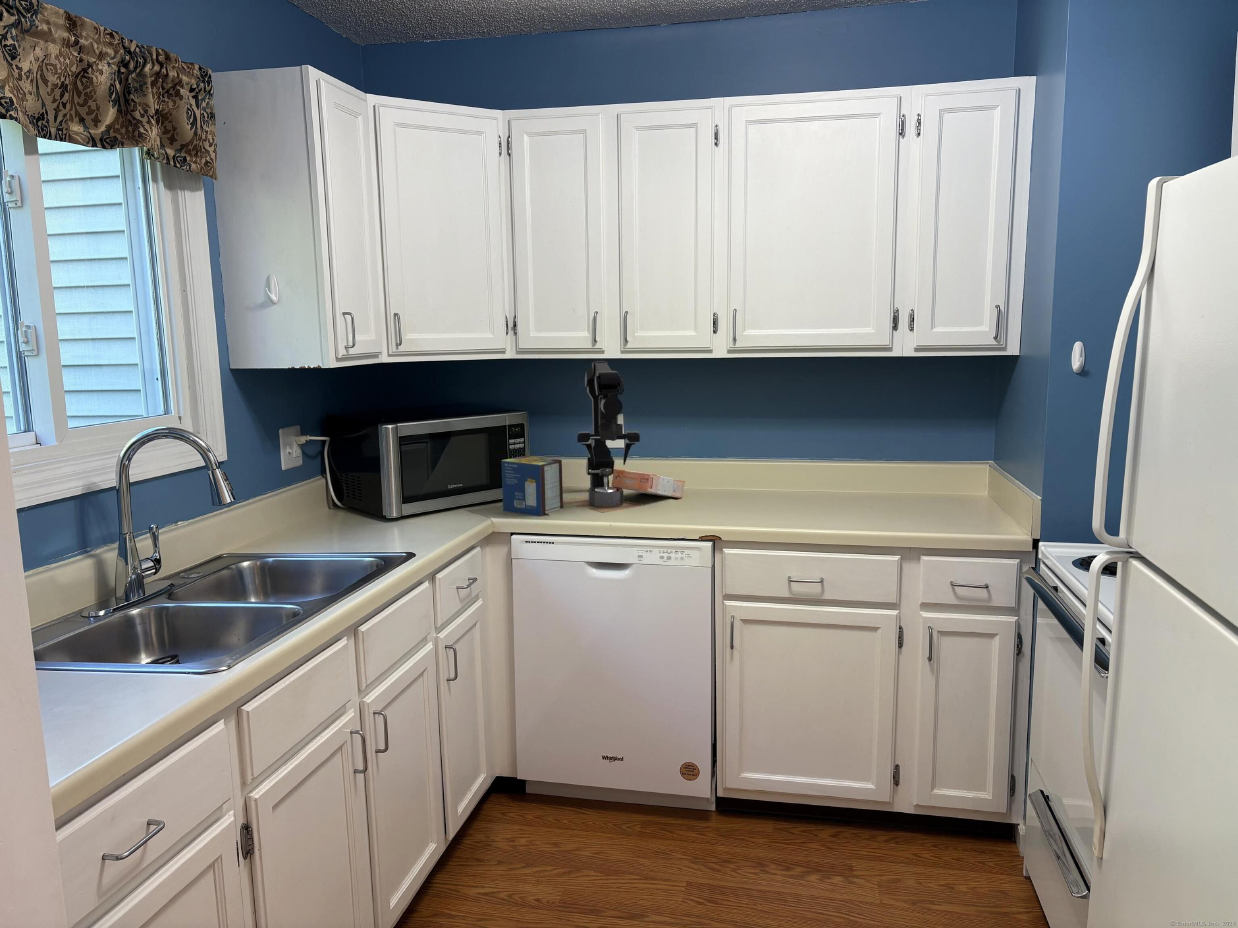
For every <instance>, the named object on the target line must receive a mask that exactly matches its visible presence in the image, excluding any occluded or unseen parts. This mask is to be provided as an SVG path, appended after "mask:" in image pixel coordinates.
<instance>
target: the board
mask: <svg viewBox="0 0 1238 928" xmlns="http://www.w3.org/2000/svg"><path fill="white" fill-rule="evenodd" d="M564 503H565V504H567V505H571V506H576V507H579V508H583V509H586V510H591V511H594V512H598V513H603V514H604V513H610V512H616V511H621V510H628V509H633V508H634V509H635V508H640V507H645V504H644V505H643V504H639V503H637V502H631V501H628V500H624V499H623V505H622V506H620V507H614V508H597V507H592V506H589V498H588V496H587V497H582V498H580V497H579V498H574V499H573V498H572V499H567V500H563V504H564Z"/></svg>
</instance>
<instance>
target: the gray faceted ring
mask: <svg viewBox="0 0 1238 928" xmlns="http://www.w3.org/2000/svg"><path fill="white" fill-rule="evenodd" d="M609 487H610V488H616V489H617V491H616V492H595V489H596V488H594V487H591V488H590V487H589V489H587V490H588V492H587V493H588V494H587V495H588V496H587V497H588V498H589V506H592V507H597V508H614V507H620V506H622V505H623V500H624V489H622V488H617V487H611V486H609ZM597 488H603V487H597Z"/></svg>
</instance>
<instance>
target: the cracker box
mask: <svg viewBox="0 0 1238 928" xmlns="http://www.w3.org/2000/svg"><path fill="white" fill-rule="evenodd" d="M685 482H686V481H685V480H681V479H677V478H676V479H675V478H671V477H667V476H661V475H658V474H653V473H649V472H641V471H634V470H627V469H626V470H625V469H618V468H617V469H615V468H614V472H613V475H612V480H611V486H610V487H617V488H622V489H623V490H629V491H633V492H639V493H645V494H650V495H656V496H663V497H671V498H680V499H682V498H683V495H684V487H685Z"/></svg>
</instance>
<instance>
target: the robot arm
mask: <svg viewBox="0 0 1238 928" xmlns="http://www.w3.org/2000/svg"><path fill="white" fill-rule="evenodd" d="M609 365H610V364H609V362H608V361H607V360H606V361H605V360H602V361H601V360H599V361H597V360H596V361H593V362H592V364H591V367H589V368H588V369H587V370H586V371H585V375H584V376H585V377H584V386H585V388H586V392H587V394H588V396H589V397H590V399H591V400H592V401H591V403H592V404H591V405H592V407H591V408H592V411H591V412H592V432H591V431H590V430H589V431H584V430H583V431H579V432H578V433H577V436H576V439H577V441H576V443H581V446H585V448H586V450H587V452H588V456H587V457H586V464H585V473H586V475H587V476H589V482H590V485H589V486H590V487H589V488H591V487H594V488H597V487H604V476H600V469H602V468H610V469H612V475H611V476H613V472H614V469H615V459H614V457H613V455H612V452H611V450H610V448H609V447H608V444H607V441H612V442H615V441H617V440H621V441H622V440H625V442H624V443H625V444H624V452H623V458H622V459H623V463H622V464H623V466H625V465H626V462H627V459H628V455H629V452H630V450H631V449H632V446H635V445H636V443H639V442H640V441H641V437H640V436H641V434H640V432H639V431H638V430H626V433H624V430H623V427H624V426H623V423H619V415H620V414H621V413H622V411H623V406H624V405H623V403H622V400H621V399H620V398H619V396H622V395H624V393H625V386H624V380H623V378H622V376H621V375H620V374H619V372H618V371H617V370H612V369H611V368H610V366H609ZM609 477H610V476H607V487H610V478H609ZM588 490H589V489H587V490H586V492H587V491H588Z"/></svg>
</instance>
